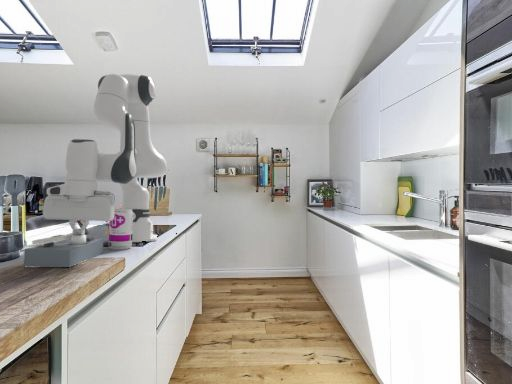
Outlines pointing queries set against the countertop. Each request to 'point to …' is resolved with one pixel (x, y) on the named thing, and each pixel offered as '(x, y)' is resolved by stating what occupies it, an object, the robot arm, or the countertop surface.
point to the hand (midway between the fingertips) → (78, 234)
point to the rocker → (48, 239)
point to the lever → (81, 226)
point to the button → (78, 240)
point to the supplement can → (121, 229)
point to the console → (62, 253)
